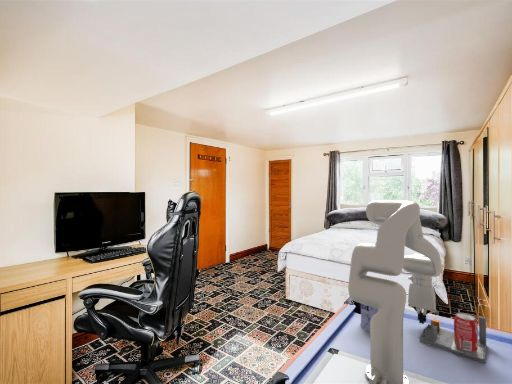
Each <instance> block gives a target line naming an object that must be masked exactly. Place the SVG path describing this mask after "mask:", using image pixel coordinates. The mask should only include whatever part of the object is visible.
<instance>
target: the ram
mask: <svg viewBox="0 0 512 384" xmlns="http://www.w3.org/2000/svg"><path fill="white" fill-rule="evenodd" d="M427 325H428V326H427V328H426V330H425V339H426V340H429V341H432V342H434V341H435V339H436V337H437V330H440V328H441V320H440V319H437V318H431V319H430V324H427Z"/></svg>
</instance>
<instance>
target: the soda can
mask: <svg viewBox="0 0 512 384" xmlns="http://www.w3.org/2000/svg"><path fill="white" fill-rule="evenodd" d="M478 326H479V324H478V322H477V320H476V317H475V316H474V315H471V314H469V313H464V312H457V313H456V314H455V316H454V317H453V332H454V342H455V345H456V346H457V347H458V348H460V349H461V350H464V351H467V352H474V351H477V348H478V339H479V329H478V328H479V327H478Z"/></svg>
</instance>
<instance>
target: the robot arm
mask: <svg viewBox="0 0 512 384" xmlns="http://www.w3.org/2000/svg"><path fill="white" fill-rule="evenodd" d="M365 209H366V210H365V214H366V215H365V216H366V217H367V219H368V221H369V222H371V223H373V224H375V225H378V226H379V228H378V229H377V232H376V240H375V244H373V243H365V242H363V243H362V242H361V243H357V244H356V246H355V247H354V248H353V250H352V253H351V257H350V266H349V267H350V269H349V276H348V277H349V278H348V286H347V287H348V289H347V290H348V295H349V296H348V297H349V298H350V299H351V300H352V301H353V302H355V303H358V304H360V305H361V304H364V305H368V306H371V307H374V308H377V309H378V310H379V311H378V312H377V313H376V314H374V315H373V317H372V318H371V321H370V331H369V334H370V338H369V339H370V342H369V343H370V345H369V346H370V352H369V353H370V357H369V358H370V363H369V364H370V365H369V364H368V365H366V367H365V370H364V371H365V373H366V374H365V377H366V376H367V377H366V379H367V378H368V379H369V380H368V379H367V380H368V382H369V384H410V380H409V378H408V376H407V375H406V374H405V375H403V373H404V316H405V311H406V310H405V308H406V304H407V303H408V305H407V306H408V307H410V308H412V309H414V311H415V312H416V313H417V320H418V322H419V324H422V325H424V324H425V323H426V322H427V316H428V314H430V313H434V314H436V313H437V298H436V291H435V287H434V285H433V277H439V276H441V274H442V270H443V267H442V259H441V254H440V252H439V250H438V248H436V246H435V245H434V244H432V242H431V241H429V240H428V239H426V238H425V237H424V233H423V228H422V222H421V217H420V213H421V208H420V205H419V203H417V202H415V201H412V200H395V199H393V200H386V199H385V200H372V201H369V202H368V204H367V205H366V208H365ZM405 247H406V248H407V249H409V250H412V251H415V252H414V253H413V254H407V255H405ZM403 270H404V271H405V272H406V273H407V272H408V273H410V274H411V276H408V280H410V281H411V282H409V284H408V285H409V286H408V296H407V291H406V289H405V288H404V286H403V285H402V284H400V283H399V282H396V281H394V280H390V279H387V278H386V279H385V278H381V277H377V276H371V275H367V274H368V272H369V273H373V274H379V275H384V276H389V277H398V276H400V275H401V273H402V272H403ZM406 302H407V303H406ZM422 309H423V311H422ZM404 377H405V378H406V379H405V378H404Z"/></svg>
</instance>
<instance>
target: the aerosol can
mask: <svg viewBox="0 0 512 384" xmlns="http://www.w3.org/2000/svg"><path fill="white" fill-rule="evenodd" d="M378 311H379V310H378V309H377V308H374V307H371V306H368V305H364V304H361V303H360V327H361V328H363V329H364V330H365V331H368V332H370V321H371V318H372V317H373V315H374V314H376V313H377V312H378Z"/></svg>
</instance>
